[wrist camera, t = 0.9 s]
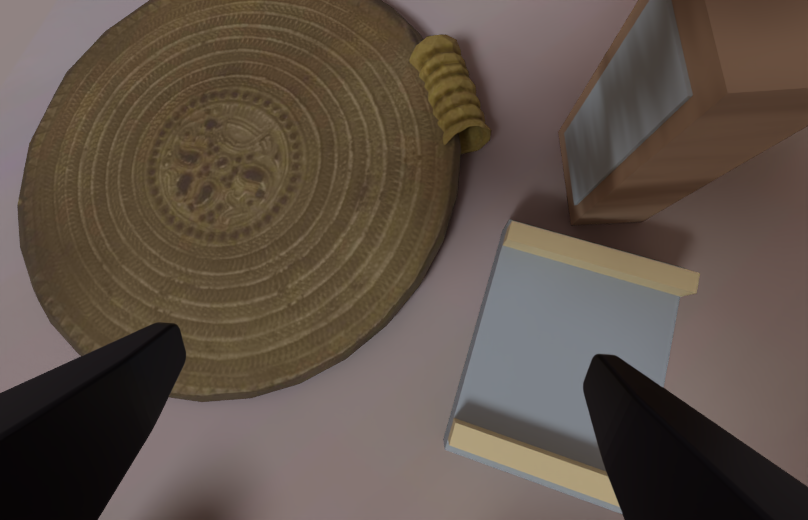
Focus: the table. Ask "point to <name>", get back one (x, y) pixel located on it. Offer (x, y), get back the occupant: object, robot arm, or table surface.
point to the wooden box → (683, 103)
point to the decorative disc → (246, 183)
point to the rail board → (558, 353)
